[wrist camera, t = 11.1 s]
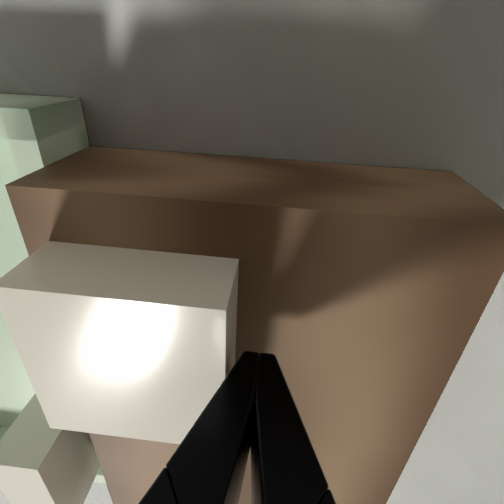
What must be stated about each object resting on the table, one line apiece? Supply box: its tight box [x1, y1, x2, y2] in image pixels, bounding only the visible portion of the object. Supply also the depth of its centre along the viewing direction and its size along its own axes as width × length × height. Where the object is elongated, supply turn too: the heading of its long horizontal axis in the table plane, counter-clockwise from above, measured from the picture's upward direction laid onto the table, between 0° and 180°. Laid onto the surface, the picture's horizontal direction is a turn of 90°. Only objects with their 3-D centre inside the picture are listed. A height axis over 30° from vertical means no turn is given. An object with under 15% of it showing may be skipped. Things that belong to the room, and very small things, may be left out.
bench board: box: [5, 146, 504, 504], centre depth 14 cm, size 12×16×4 cm
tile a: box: [0, 393, 100, 504], centre depth 15 cm, size 5×5×2 cm
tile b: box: [0, 241, 239, 444], centre depth 9 cm, size 5×5×2 cm
